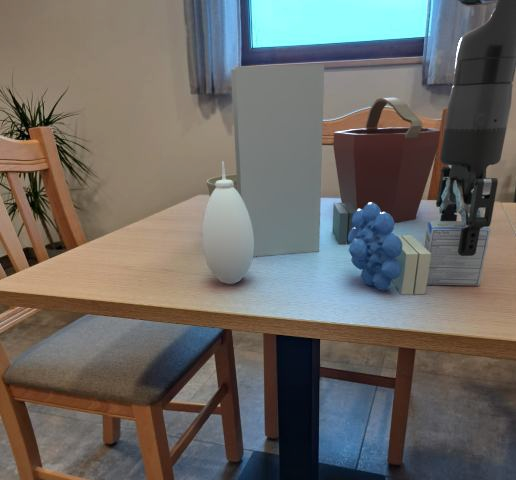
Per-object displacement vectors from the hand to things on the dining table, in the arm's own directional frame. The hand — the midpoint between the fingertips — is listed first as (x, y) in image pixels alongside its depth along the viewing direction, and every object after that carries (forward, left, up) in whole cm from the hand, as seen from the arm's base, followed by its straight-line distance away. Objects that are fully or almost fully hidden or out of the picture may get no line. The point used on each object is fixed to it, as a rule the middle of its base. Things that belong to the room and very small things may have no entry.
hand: (455, 246), depth 68 cm
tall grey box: (+26, -19, -6) cm, 32 cm away
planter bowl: (+33, -36, -6) cm, 49 cm away
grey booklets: (+12, -27, -5) cm, 30 cm away
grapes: (+13, +1, -6) cm, 14 cm away
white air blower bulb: (+34, -2, -6) cm, 34 cm away
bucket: (+2, -46, -6) cm, 46 cm away
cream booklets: (+7, 0, -5) cm, 9 cm away
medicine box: (0, 0, -6) cm, 6 cm away
